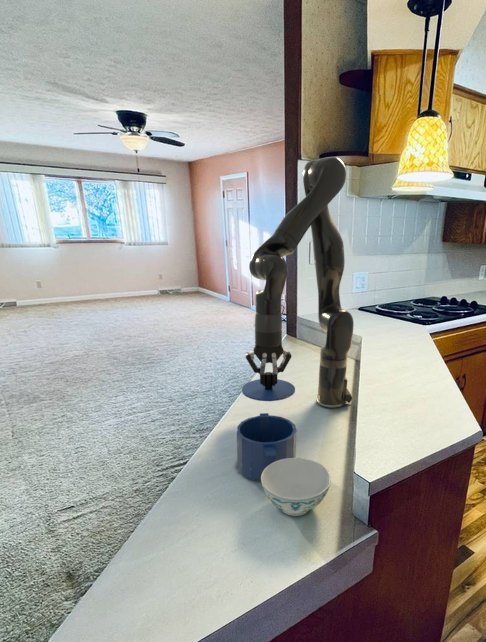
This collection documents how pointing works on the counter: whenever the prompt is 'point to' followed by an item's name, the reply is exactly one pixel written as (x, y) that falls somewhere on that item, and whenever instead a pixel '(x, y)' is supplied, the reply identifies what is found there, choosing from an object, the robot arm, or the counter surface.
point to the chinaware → (295, 484)
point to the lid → (268, 389)
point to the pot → (264, 443)
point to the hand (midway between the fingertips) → (268, 384)
